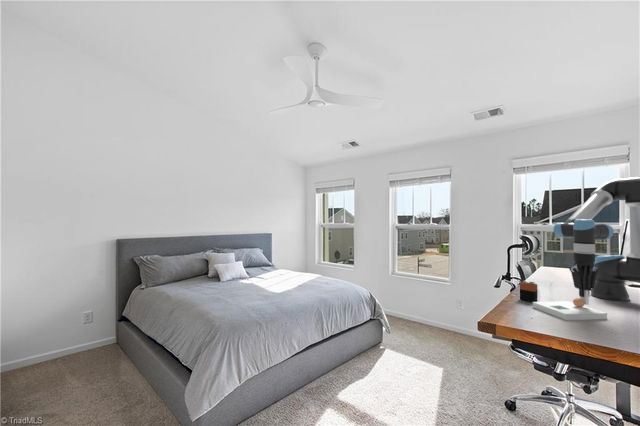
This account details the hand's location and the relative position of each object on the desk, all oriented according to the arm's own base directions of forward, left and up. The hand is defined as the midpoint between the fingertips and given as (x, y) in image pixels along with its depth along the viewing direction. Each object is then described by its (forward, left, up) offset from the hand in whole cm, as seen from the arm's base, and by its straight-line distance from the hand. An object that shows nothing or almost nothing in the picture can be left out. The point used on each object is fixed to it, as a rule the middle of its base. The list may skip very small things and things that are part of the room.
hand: (584, 303), depth 137 cm
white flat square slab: (+8, 0, -4) cm, 9 cm away
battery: (+11, -20, -4) cm, 23 cm away
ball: (+3, 0, 0) cm, 3 cm away
